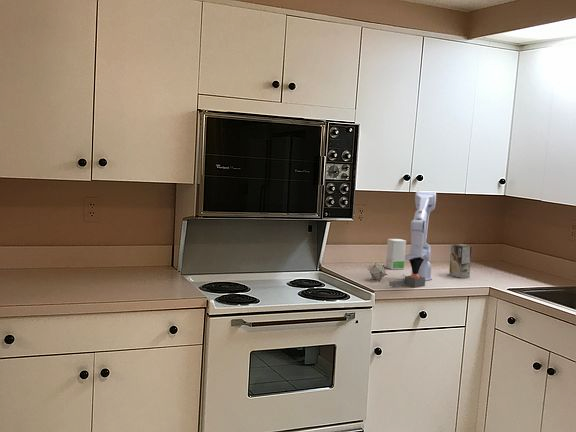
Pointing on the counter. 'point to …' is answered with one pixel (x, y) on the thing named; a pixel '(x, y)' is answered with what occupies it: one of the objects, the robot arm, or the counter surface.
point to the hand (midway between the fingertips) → (415, 273)
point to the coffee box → (460, 260)
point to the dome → (415, 276)
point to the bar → (396, 282)
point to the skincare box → (396, 254)
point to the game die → (377, 272)
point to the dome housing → (414, 281)
